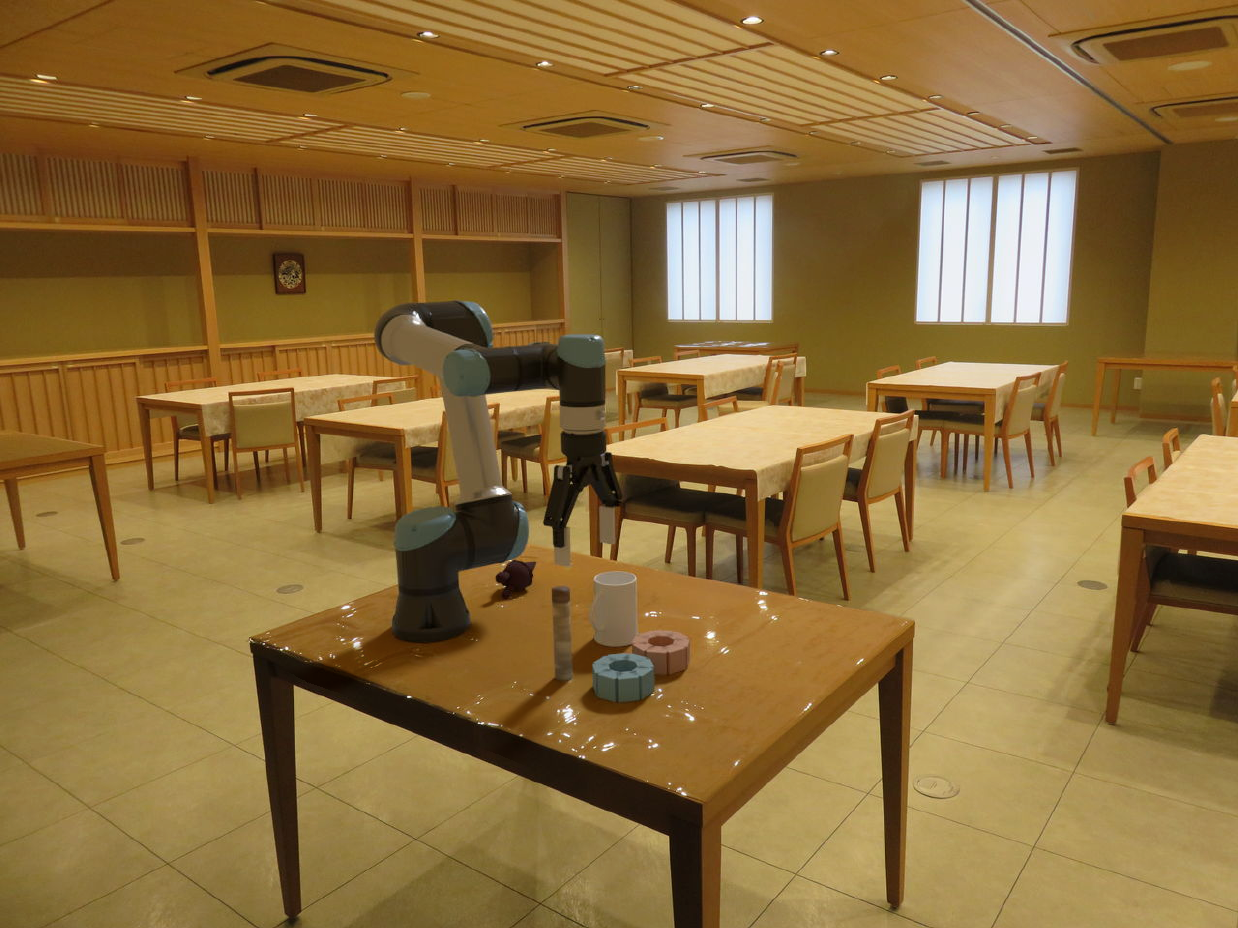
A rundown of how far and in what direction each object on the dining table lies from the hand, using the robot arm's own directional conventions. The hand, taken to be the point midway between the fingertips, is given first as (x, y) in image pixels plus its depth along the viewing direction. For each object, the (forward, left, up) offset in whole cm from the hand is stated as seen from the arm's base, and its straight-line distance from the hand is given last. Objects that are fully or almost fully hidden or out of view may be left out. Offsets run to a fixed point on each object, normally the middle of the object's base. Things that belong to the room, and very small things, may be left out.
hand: (585, 553), depth 152 cm
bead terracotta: (+8, +10, -22) cm, 25 cm away
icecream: (-39, +26, -22) cm, 51 cm away
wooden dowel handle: (-3, -4, -22) cm, 22 cm away
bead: (+8, -2, -22) cm, 23 cm away
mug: (-5, +13, -22) cm, 26 cm away
